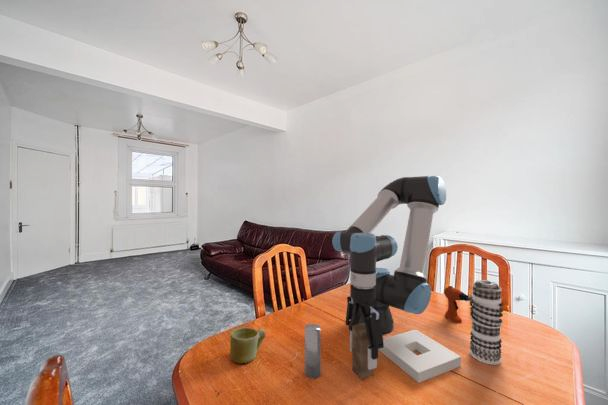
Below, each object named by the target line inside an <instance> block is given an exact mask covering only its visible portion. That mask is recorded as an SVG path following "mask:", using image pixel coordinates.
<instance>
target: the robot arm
mask: <svg viewBox="0 0 608 405" xmlns="http://www.w3.org/2000/svg"><path fill="white" fill-rule="evenodd" d="M446 200H447V190H446V186H445V183H444V180H443V178H442V177H440V176H437V175H425V176H406V177H405V176H403V177H400V178H397V179H395V180H393V181H391V182H389V183H388V184H386V185H385V186H384V187H383V188H382V189H380V191H378V193H377V197H376V198H375V200H373V202H371V204H370V205H368V207H367V208H366V209H365V210H364V211H363V212H362V214H360V215H359V216H358V218H356V219H355V220H354V222H353V223H352V224H351V225H350V226H349V227H348V228H347V229H346V230H345V231H343V230H342V231H337V232H335V233H334V234H333V237H332V242H331V243H332V246H333V247H332V248H334V250H335V251H337V252H341V253H343V254H350V255H349V257H350V260H349V261H350V268H349V269H350V270H349V271H350V276H349V278H350V287H349V288H350V290H349V291H350V292H349V293H350V295H349V296H347V297H346V301H347V306H346V313H345V315H346V316H345V323H344V324H345V326H348V330H349V352H351V353H352V326H353V325H357V324H361V323H365V327H366V332H367V336H368V340H369V344H370V346H368V369H369V370H371V369H374V370H375V369H377V368H378V358H379V350H378V349H380V348H383V347H384V344H383V339H384V337H383V334H389V333H391V332H392V331H393V330H394V327H395V325H394V324H395V323H394V319H393V315H392V312H391V308H390V307H392V308H393V309H394V308H395V309H397V310H401V311H403V312H405V313H410V314H414V315H421V314H423V313H424V312H425V310H427V308H428V306H429V303H430V300H431V297H432V287H431V285H430V283H427V280H428V277H427V276H426V275H425V273H424V271H425V266H426V260H427V254H428V247H429V242H430V236H431V230H432V229H431V228H432V223H433V217H434V214H435V213H437V212H438V211H439V208H440V207H439V206H442V205H444V204H445V203H446ZM404 204H406V205H407V208H408V209H409V216H408V220H407V225H406V226H407V227H406V231H405V237H404V241H403V242H404V243H403V248H402V253H401V258H400V264H399V267H398V268H397V269H395V270H394V273H393V274H390V270H389V269H388V268H386V267H377V262H380V261H383V260H388V259H390V258H392V257H393V256H395V255H396V253H398V252H397V251H398V243H397V241H396V239H395V238H394V237H392V236H391V235H387V234H386V235H385V234H382V235H375V233H373V231H375V229H376V228H377V227H378V225H379V224H381V222H382V221H383V219H384V218H385V217H386V216H387V215H388V214H389V212H390V211H391V210H393V209H396V208H397V207H398V206H399V205H404Z"/></svg>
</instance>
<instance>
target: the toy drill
mask: <svg viewBox="0 0 608 405" xmlns="http://www.w3.org/2000/svg"><path fill="white" fill-rule="evenodd" d="M443 290H444V291H443V292H444V296H445V297H446V298H447V303H448V305H447V310H446V311H445V313H444V317H445V319H448V320H449V321H450V322H452V323H455V324H457V323H458V324H460V323H462V321H463V320H462V318H461V317H460V316H459V315H458V309H459V306H458V303H457V301H464V302H469V301H470V296H469V295H468V294H466V293H464V292H463V291H462V290H460V289H457V288H455V287H453V286H452V285H449V286H447V287H445V289H443Z"/></svg>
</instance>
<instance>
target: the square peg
mask: <svg viewBox="0 0 608 405" xmlns="http://www.w3.org/2000/svg"><path fill="white" fill-rule="evenodd" d="M368 346H370V344H369V340H368V336H367V332H366V327H365V323H361V324H357V325H353V326H352V352H351V353H352V354H351V355H352V357H351V358H352V359H351V360H352V364H351V366H352V368H351V369H352V371H353V372H354V374H356V376H357V377H358V378H359V379H360V380H361V381H362V380H364V379H368V378H370V376H371V377H374V375H375V372H374V370H375V368H374V369H371V370H369V369H368Z"/></svg>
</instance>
